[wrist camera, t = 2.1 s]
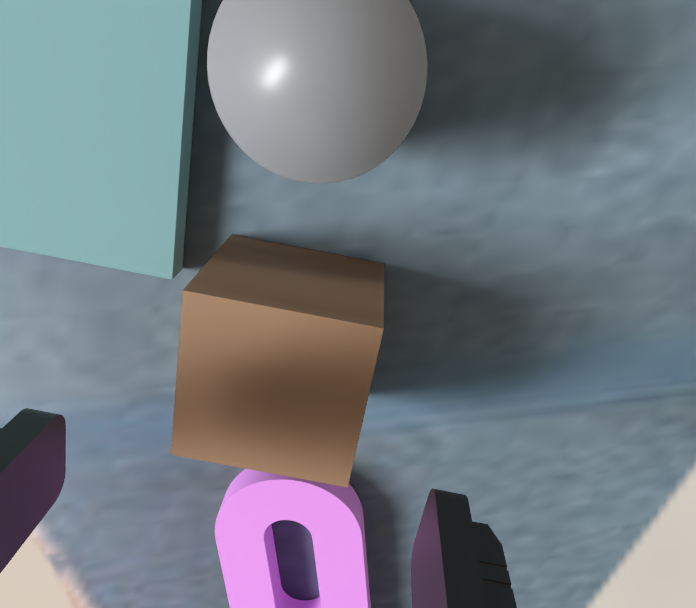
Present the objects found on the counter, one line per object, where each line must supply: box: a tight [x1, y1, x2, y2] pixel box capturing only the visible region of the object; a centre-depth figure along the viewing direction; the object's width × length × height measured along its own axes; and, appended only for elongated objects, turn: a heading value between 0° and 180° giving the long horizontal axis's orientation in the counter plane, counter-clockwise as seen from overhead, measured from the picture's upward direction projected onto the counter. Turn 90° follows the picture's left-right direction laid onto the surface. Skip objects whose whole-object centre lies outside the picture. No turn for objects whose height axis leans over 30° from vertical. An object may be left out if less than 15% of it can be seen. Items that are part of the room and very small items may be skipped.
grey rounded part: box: [207, 0, 428, 184], centre depth 14 cm, size 4×4×6 cm
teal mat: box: [0, 0, 202, 279], centre depth 17 cm, size 10×8×1 cm
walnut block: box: [171, 234, 385, 487], centre depth 18 cm, size 5×5×5 cm
